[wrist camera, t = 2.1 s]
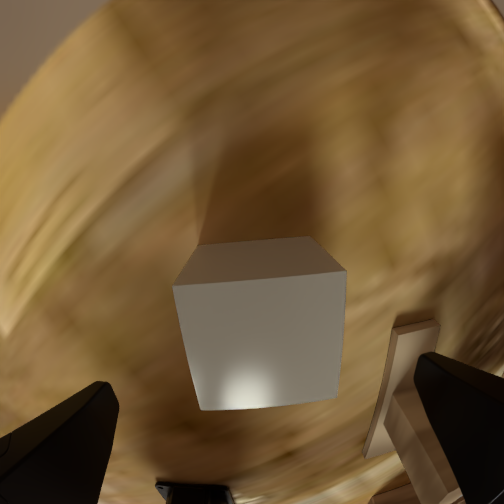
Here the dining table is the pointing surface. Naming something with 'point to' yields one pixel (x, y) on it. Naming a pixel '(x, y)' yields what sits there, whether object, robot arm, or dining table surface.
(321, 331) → the pale grey cube
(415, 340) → the stand
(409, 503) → the open wooden box
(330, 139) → the dining table surface
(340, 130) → the dining table surface
